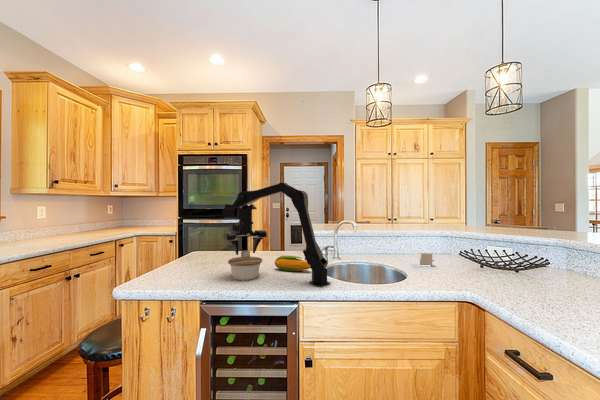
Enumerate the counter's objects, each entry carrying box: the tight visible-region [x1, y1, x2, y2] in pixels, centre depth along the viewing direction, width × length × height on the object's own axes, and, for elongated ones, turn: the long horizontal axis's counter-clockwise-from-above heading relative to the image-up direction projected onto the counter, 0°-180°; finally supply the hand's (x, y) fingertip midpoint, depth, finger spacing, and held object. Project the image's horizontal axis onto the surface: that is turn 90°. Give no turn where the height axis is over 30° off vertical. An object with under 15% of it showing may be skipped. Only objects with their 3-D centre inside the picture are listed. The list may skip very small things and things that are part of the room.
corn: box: [274, 255, 311, 273], centre depth 132 cm, size 7×8×20 cm
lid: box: [227, 249, 263, 266], centre depth 121 cm, size 15×15×5 cm
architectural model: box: [419, 252, 435, 266], centre depth 142 cm, size 3×7×7 cm, turn 81°
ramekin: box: [230, 263, 261, 281], centre depth 121 cm, size 13×13×7 cm
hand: (245, 254), depth 121 cm, fingers open, 8 cm apart
